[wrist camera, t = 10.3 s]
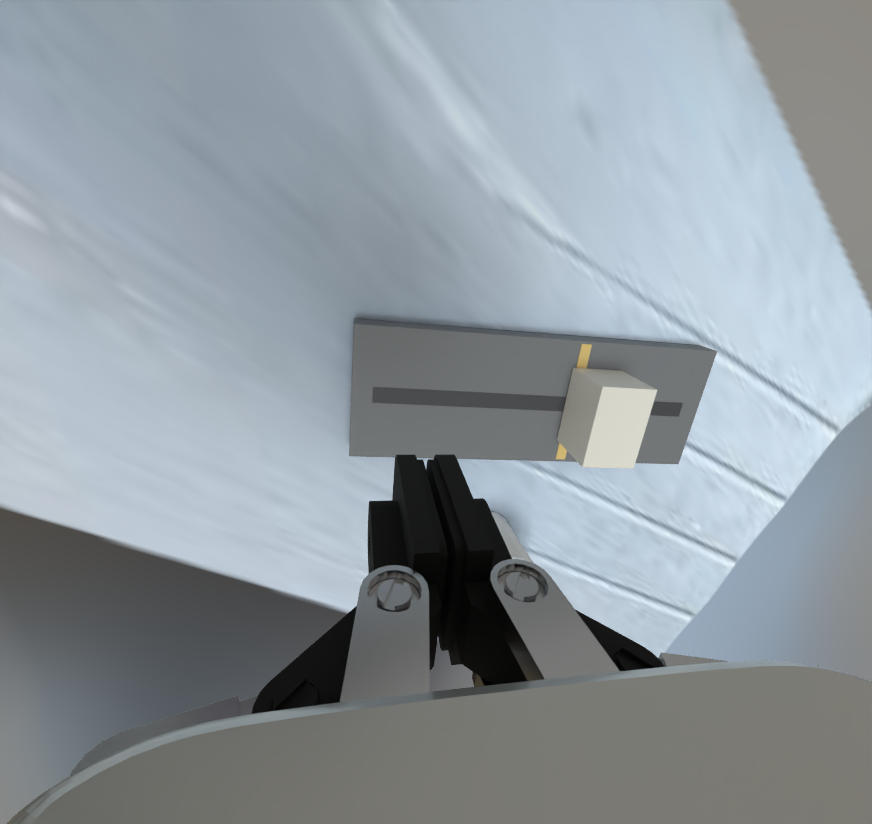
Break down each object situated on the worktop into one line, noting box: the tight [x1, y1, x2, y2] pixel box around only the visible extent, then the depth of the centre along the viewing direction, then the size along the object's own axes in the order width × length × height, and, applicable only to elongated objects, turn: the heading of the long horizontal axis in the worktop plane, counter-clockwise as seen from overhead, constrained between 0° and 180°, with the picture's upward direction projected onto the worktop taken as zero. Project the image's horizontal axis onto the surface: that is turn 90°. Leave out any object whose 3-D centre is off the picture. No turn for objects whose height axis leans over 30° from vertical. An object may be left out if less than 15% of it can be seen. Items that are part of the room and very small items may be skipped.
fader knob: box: [557, 368, 657, 468], centre depth 32 cm, size 4×6×4 cm, turn 174°
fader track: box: [349, 319, 717, 464], centre depth 35 cm, size 28×10×2 cm, turn 84°
